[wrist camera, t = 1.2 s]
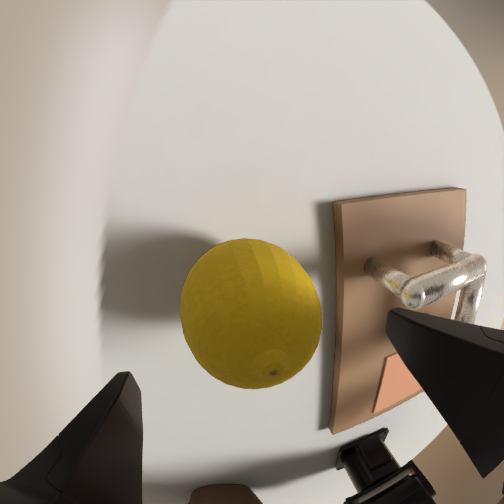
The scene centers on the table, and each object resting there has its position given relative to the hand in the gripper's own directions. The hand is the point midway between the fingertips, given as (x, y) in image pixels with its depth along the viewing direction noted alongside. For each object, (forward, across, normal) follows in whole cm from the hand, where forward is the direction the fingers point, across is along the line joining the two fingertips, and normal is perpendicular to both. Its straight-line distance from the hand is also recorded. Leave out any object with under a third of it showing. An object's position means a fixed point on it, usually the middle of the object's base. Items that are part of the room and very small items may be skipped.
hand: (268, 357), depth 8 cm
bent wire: (+7, -11, +4) cm, 14 cm away
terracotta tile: (+7, -14, +13) cm, 20 cm away
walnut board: (+7, -12, +7) cm, 16 cm away
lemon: (+7, 0, 0) cm, 7 cm away
